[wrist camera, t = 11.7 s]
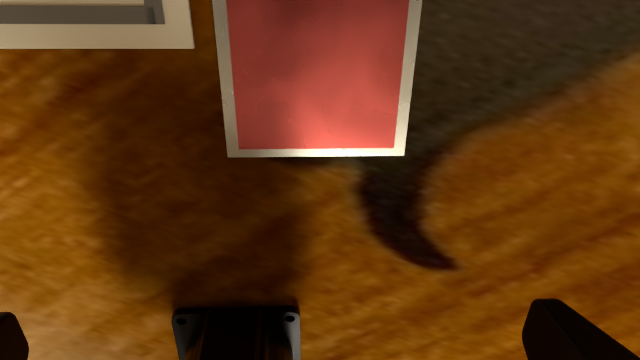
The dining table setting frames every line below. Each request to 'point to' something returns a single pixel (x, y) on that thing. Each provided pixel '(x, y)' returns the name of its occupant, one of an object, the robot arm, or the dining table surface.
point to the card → (96, 24)
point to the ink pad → (316, 75)
